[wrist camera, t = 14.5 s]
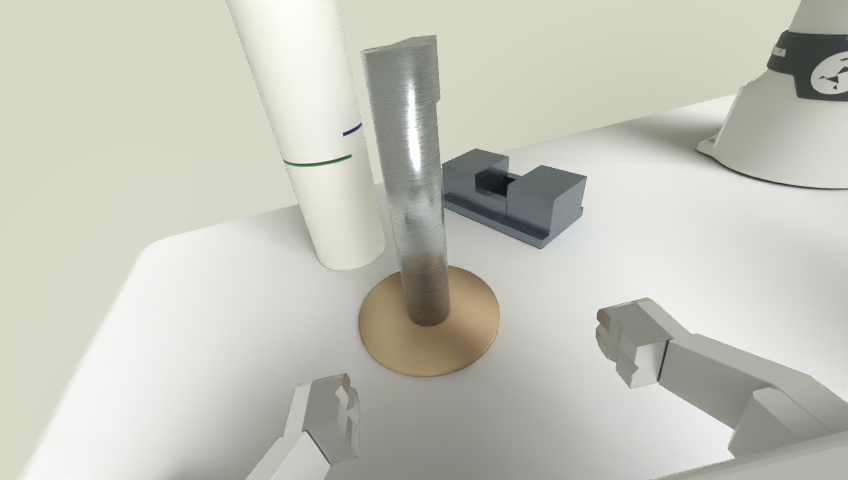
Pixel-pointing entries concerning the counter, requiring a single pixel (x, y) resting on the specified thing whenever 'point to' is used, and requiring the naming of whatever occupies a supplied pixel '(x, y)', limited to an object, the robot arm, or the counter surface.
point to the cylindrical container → (315, 122)
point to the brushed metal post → (412, 168)
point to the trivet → (436, 345)
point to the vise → (513, 196)
